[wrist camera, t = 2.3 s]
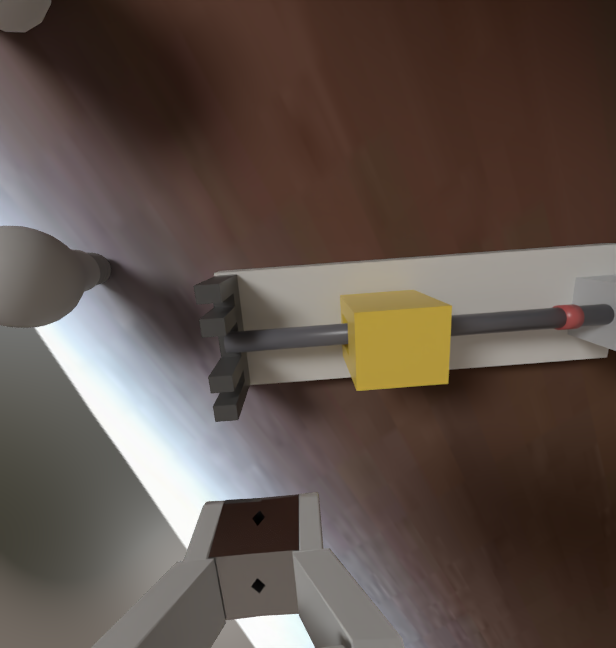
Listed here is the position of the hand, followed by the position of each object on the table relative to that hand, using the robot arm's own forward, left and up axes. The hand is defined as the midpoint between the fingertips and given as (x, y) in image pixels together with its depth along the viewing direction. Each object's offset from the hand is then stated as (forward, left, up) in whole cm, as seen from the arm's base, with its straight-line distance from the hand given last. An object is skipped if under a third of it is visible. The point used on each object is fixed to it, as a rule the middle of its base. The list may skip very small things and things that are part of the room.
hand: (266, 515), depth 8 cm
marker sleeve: (0, +8, -18) cm, 20 cm away
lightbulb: (-6, -15, -21) cm, 27 cm away
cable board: (0, +12, -21) cm, 24 cm away
